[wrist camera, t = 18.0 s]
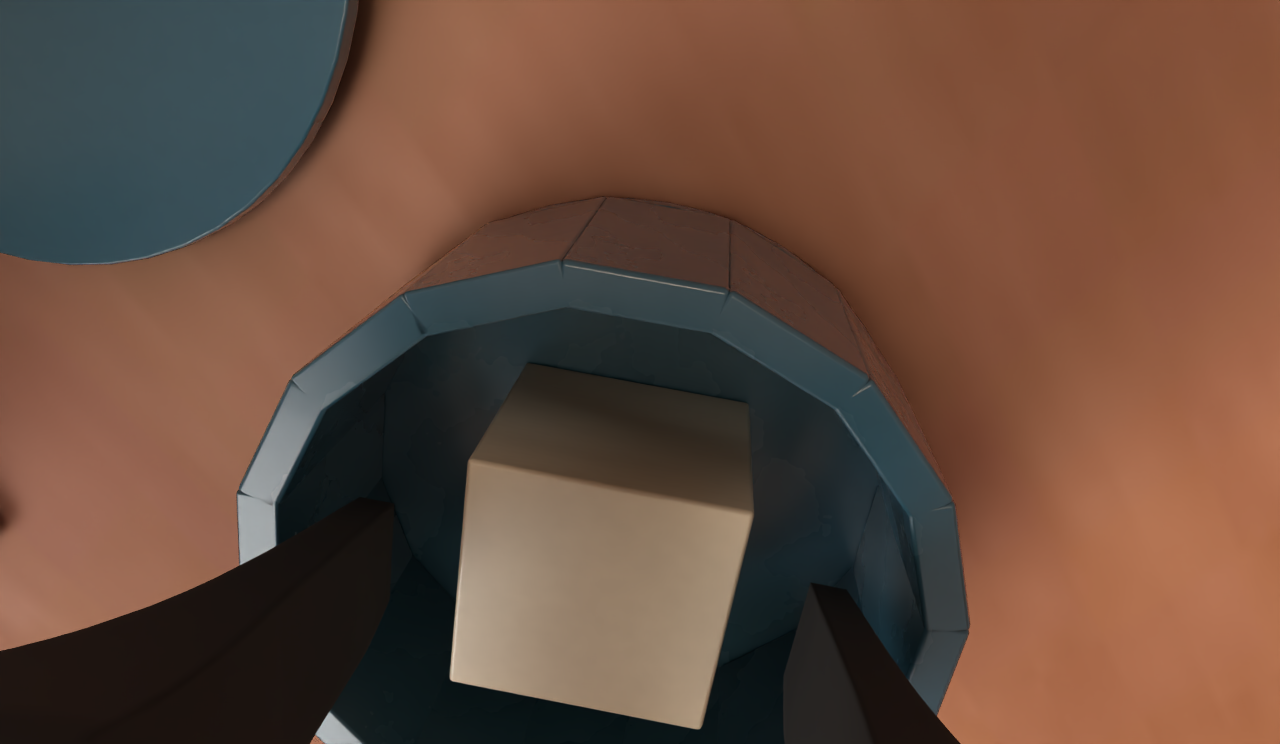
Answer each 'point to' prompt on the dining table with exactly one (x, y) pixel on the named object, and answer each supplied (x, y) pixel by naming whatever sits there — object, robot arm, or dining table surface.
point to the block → (603, 544)
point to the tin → (636, 352)
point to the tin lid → (155, 117)
